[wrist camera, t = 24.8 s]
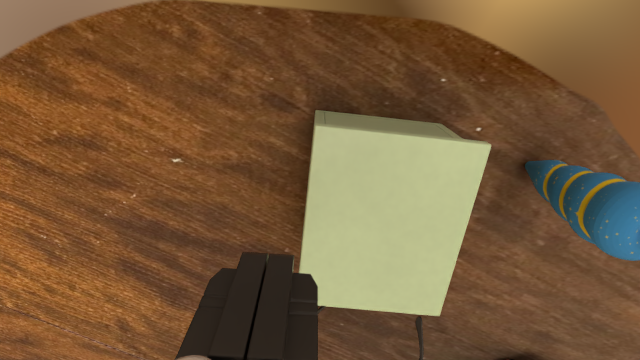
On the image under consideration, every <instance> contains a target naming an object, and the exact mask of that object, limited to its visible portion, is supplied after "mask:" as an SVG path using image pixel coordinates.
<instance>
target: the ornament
mask: <svg viewBox="0 0 640 360" xmlns="http://www.w3.org/2000/svg"><path fill="white" fill-rule="evenodd" d="M525 169H526V170H527V172H528V174H529V176H530V178H531V180H532V182H533V184H534V186H535V188H536V189H537V191H538V192H539V194H540V195H541V196H542V197H543V198H544V199H545V200H547V201H548V202H550V203H551V205H552V207H553V208H554V210H555V211H556V213H557V214H558V215H559V216H560V217H562V218H563V219H564V220H566V221H568V223H569V224H570V226H571V227H572V229H573V230H574V231H575V232H576V233H577V234H578V235H579V236H580V237H581V238H583V239H585V240H586V241H588V242H590V243H593V244H596V246H597V247H598V248H599V249H601V250H602V251H604V252H605V253H607V254H609V255H611V256H614V257H617V258H620V259H625V260H633V261H636V260H640V183H639V182H628V181H626V180H625V179H623V178H622V177H620V176H618V175H615V174H611V173H594V172H593V171H591V170H590V169H587V168H585V167H581V166H568V165H567V164H566V163H564V162H562V161H559V160H542V161H529V162H527V163H526V164H525Z"/></svg>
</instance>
